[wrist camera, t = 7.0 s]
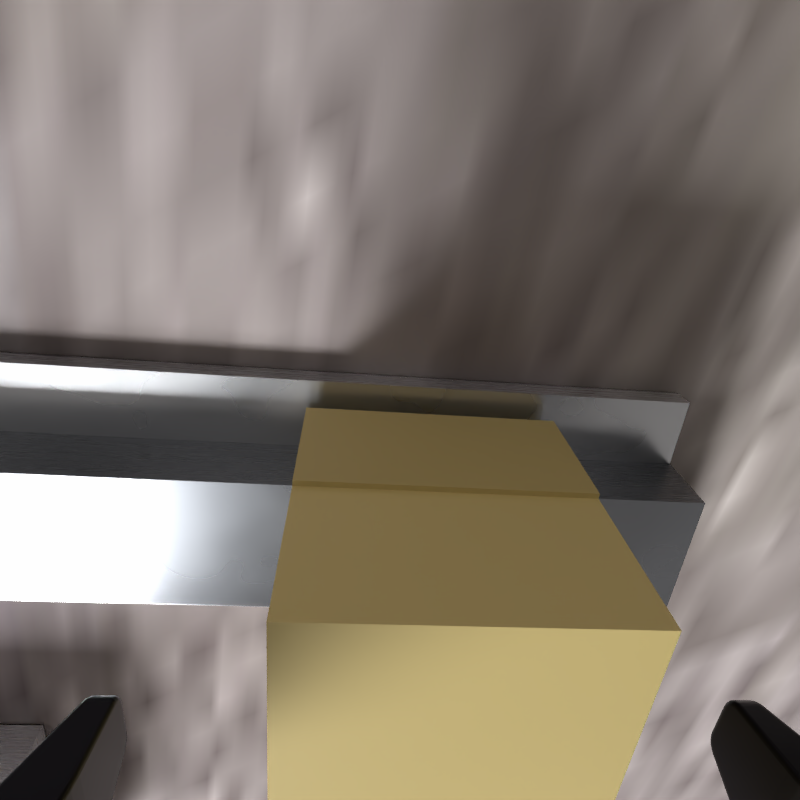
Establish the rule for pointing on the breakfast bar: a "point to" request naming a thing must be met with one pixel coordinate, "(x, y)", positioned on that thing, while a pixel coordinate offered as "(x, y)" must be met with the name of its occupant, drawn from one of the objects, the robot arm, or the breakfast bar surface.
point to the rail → (260, 470)
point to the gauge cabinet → (17, 745)
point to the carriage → (454, 617)
